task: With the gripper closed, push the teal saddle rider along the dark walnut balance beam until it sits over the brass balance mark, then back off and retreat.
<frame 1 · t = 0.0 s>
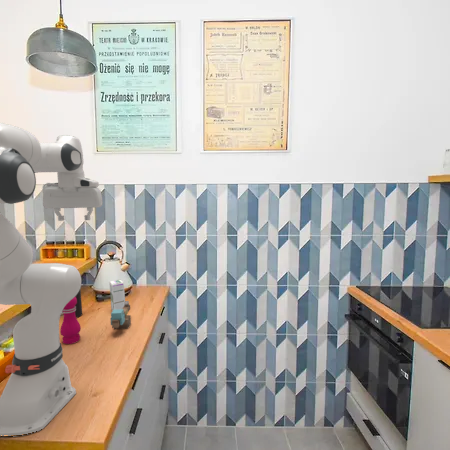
hand: (74, 220, 116), 48 cm above the worktop, fingers open, 8 cm apart
pepper mill: (71, 340, 125), on the worktop
syrup box: (118, 310, 155), on the worktop
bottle: (74, 316, 149), on the worktop
rider: (117, 317, 130), point 7 cm above the worktop, slide at -6.0 cm
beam: (122, 326, 137), on the worktop
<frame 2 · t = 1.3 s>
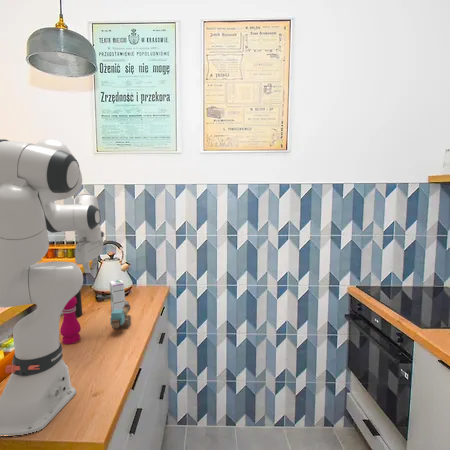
hand: (91, 270, 126), 27 cm above the worktop, fingers open, 6 cm apart
nothing on the worktop moved.
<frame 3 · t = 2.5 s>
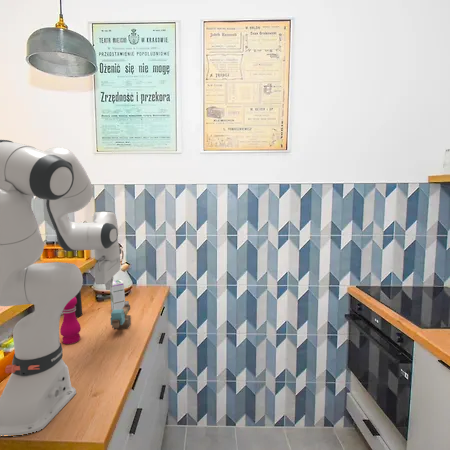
hand: (109, 288, 122), 21 cm above the worktop, fingers closed
nothing on the worktop moved.
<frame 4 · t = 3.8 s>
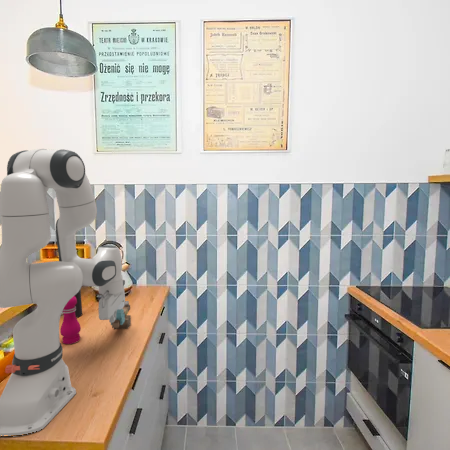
hand: (112, 321, 123), 8 cm above the worktop, fingers closed
nothing on the worktop moved.
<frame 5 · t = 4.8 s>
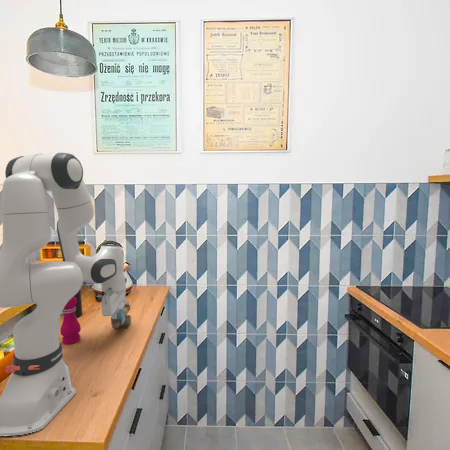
hand: (115, 317, 127), 8 cm above the worktop, fingers closed
rider: (118, 316, 131), point 7 cm above the worktop, slide at -5.4 cm, touching gripper
everything else where it was.
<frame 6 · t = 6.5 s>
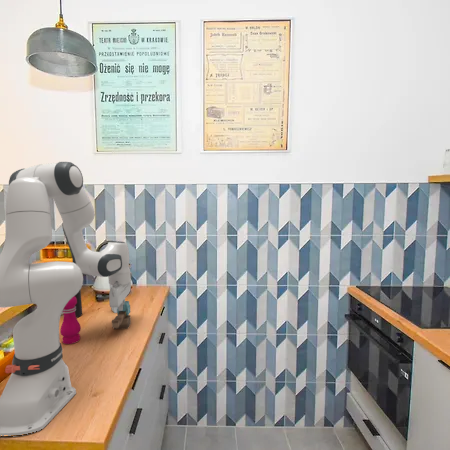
hand: (121, 309, 136), 8 cm above the worktop, fingers closed
rider: (123, 308, 139), point 7 cm above the worktop, slide at 3.5 cm, touching gripper
everything else where it was.
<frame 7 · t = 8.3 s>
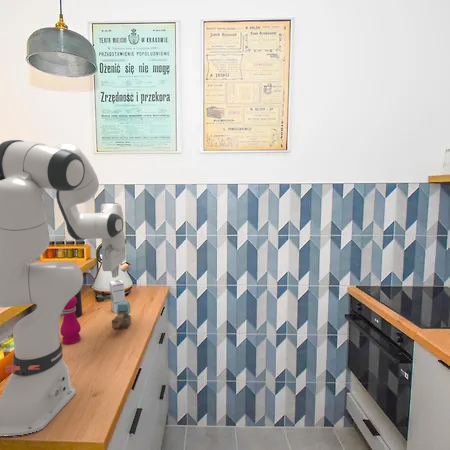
hand: (115, 276, 129), 24 cm above the worktop, fingers closed
rider: (123, 308, 139), point 7 cm above the worktop, slide at 3.5 cm
everything else where it was.
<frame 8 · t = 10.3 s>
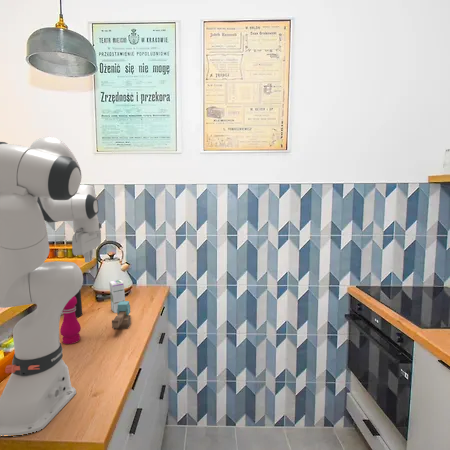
hand: (88, 261, 124), 31 cm above the worktop, fingers closed
nothing on the worktop moved.
at the end: rider slide at 3.5 cm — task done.
